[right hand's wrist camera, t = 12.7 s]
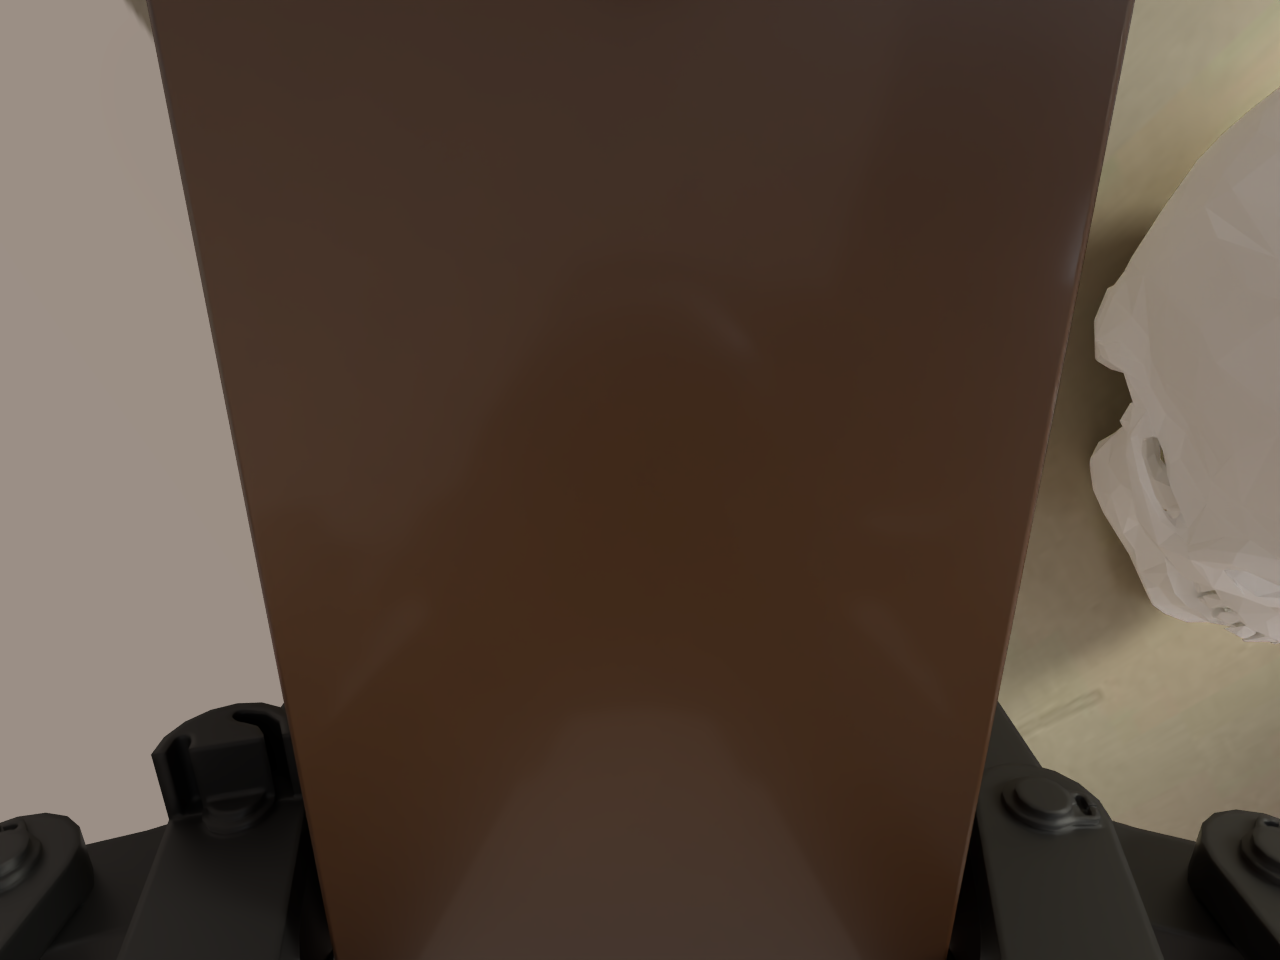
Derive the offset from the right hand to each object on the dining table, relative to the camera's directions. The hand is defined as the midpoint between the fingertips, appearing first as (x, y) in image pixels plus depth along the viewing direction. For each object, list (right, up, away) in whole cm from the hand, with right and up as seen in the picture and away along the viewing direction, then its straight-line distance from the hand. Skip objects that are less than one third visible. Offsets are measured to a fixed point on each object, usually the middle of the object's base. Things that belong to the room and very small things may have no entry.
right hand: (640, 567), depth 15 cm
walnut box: (0, +8, -3) cm, 9 cm away
